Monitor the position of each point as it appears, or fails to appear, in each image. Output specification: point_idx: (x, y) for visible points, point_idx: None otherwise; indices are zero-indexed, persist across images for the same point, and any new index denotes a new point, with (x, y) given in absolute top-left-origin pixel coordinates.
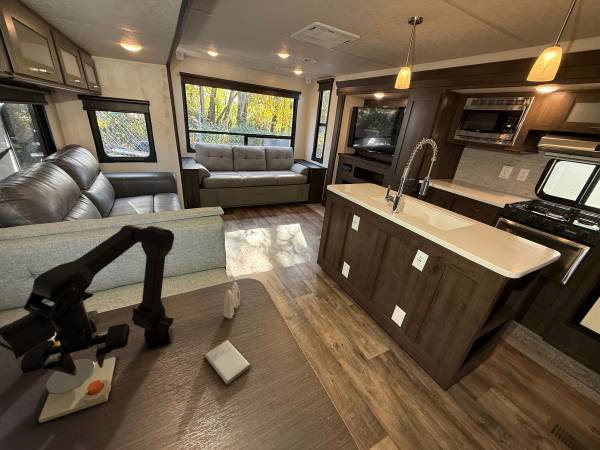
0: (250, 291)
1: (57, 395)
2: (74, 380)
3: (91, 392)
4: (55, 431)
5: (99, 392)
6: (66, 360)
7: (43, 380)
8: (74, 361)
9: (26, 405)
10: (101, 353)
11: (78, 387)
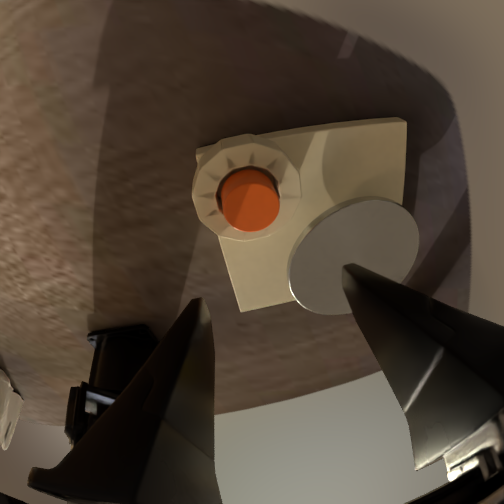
0: None
1: None
2: (343, 242)
3: (255, 176)
4: (342, 68)
5: (221, 174)
6: (430, 398)
7: None
8: None
9: (438, 189)
10: (87, 499)
11: None
